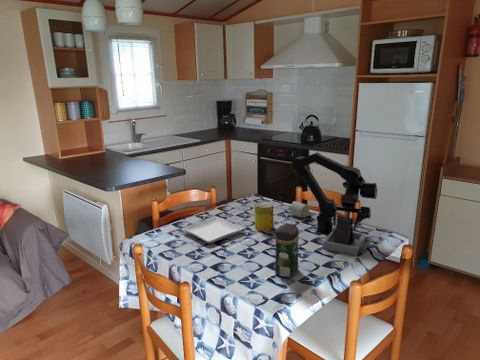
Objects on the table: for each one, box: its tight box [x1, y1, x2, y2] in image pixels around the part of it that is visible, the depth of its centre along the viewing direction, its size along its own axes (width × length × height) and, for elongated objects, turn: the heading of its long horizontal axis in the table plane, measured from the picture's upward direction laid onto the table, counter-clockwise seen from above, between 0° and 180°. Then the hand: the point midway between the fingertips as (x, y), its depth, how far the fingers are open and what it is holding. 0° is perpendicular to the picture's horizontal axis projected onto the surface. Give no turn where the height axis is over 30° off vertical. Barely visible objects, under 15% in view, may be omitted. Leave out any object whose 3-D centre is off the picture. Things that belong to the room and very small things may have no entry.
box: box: [322, 228, 366, 257], centre depth 163 cm, size 14×16×4 cm
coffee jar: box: [274, 223, 299, 278], centre depth 139 cm, size 10×8×19 cm
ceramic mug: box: [289, 200, 310, 219], centre depth 198 cm, size 11×8×8 cm
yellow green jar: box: [254, 201, 274, 232], centre depth 183 cm, size 9×9×12 cm
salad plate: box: [182, 216, 244, 244], centre depth 178 cm, size 21×21×3 cm
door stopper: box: [334, 215, 355, 245], centre depth 161 cm, size 9×6×12 cm, turn 142°
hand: (344, 227), depth 159 cm, fingers open, 8 cm apart
